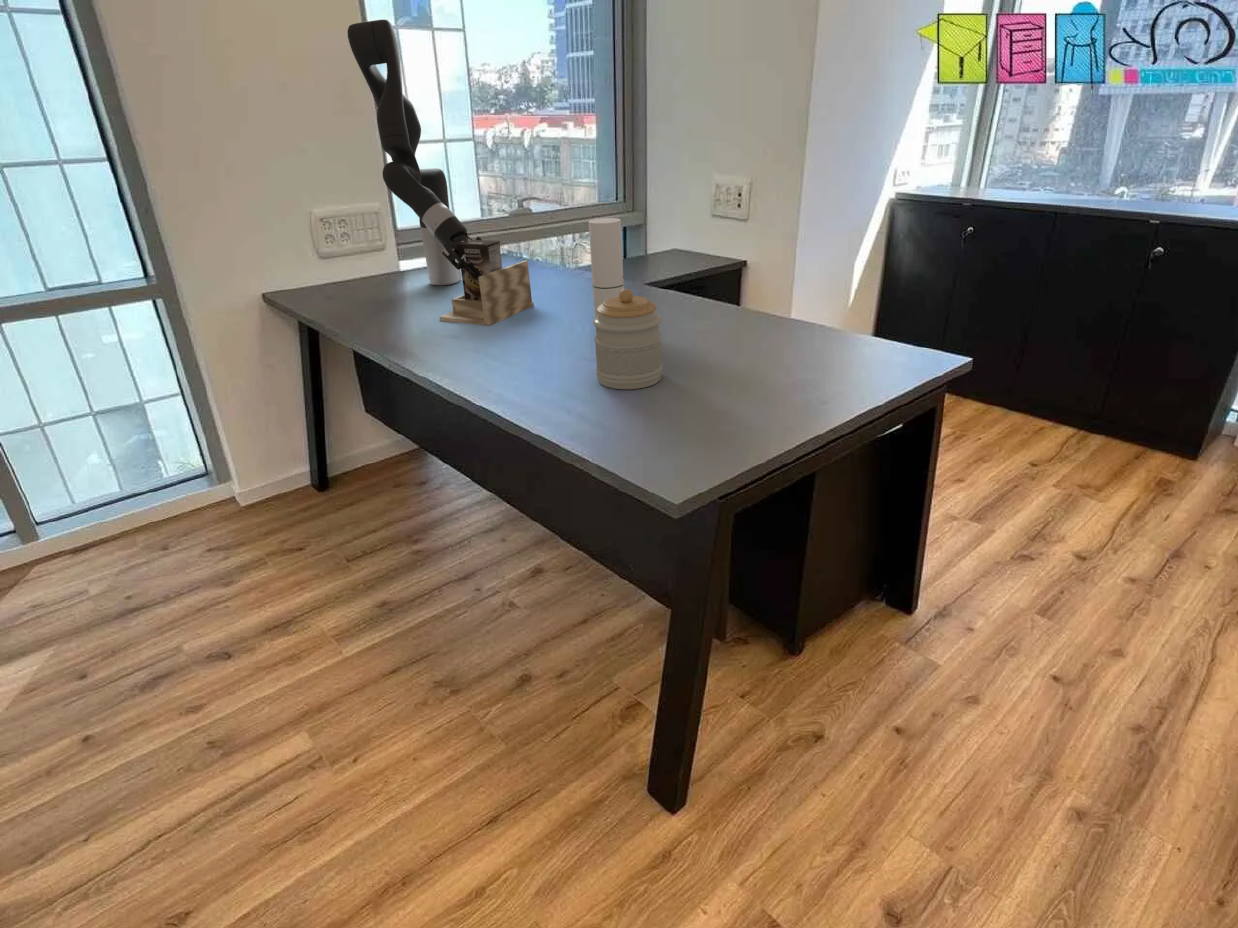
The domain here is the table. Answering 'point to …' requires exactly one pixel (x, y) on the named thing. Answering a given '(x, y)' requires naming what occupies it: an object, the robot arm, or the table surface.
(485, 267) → the coffee box
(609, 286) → the cylindrical container
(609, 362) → the jar
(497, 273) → the holder
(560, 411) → the table surface
